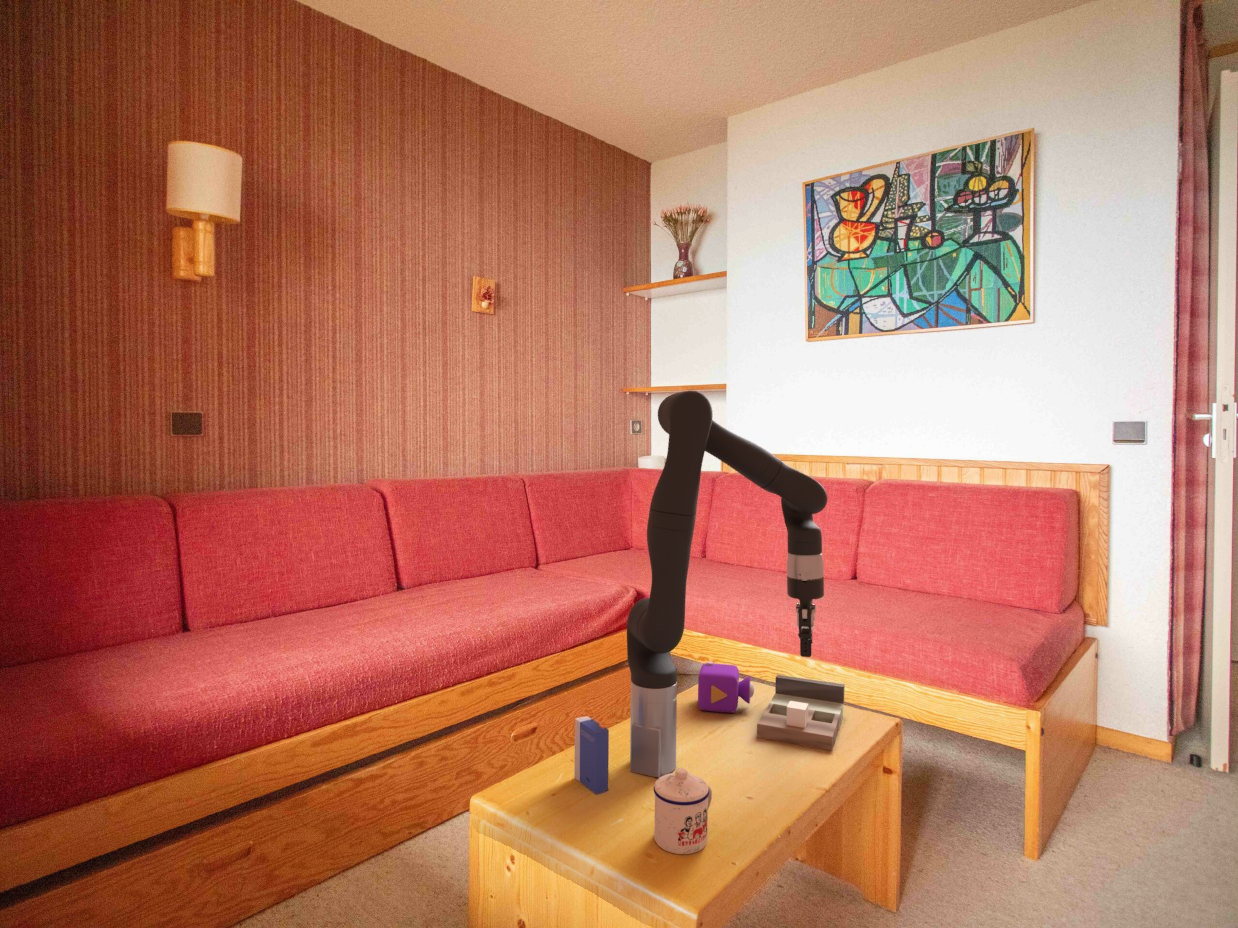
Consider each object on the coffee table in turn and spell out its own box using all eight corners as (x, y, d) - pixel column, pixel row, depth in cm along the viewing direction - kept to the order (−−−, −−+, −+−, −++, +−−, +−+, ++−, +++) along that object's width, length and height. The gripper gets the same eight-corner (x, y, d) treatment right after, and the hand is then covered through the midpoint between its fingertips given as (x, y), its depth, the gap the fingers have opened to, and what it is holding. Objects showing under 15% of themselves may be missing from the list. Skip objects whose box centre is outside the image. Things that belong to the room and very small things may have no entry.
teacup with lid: (683, 863, 109) (683, 790, 109) (641, 838, 116) (642, 769, 115) (731, 833, 118) (732, 765, 117) (689, 812, 124) (690, 747, 124)
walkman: (608, 790, 131) (608, 727, 131) (595, 794, 130) (596, 730, 129) (586, 773, 138) (586, 713, 137) (574, 777, 136) (574, 716, 136)
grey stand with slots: (832, 750, 149) (832, 717, 148) (756, 736, 155) (757, 705, 155) (843, 712, 169) (844, 684, 169) (776, 702, 175) (777, 674, 175)
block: (805, 728, 153) (805, 709, 153) (786, 724, 155) (786, 706, 154) (807, 721, 157) (808, 703, 156) (789, 718, 158) (790, 700, 158)
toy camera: (756, 715, 167) (757, 674, 166) (699, 715, 167) (699, 673, 167) (749, 698, 178) (750, 659, 177) (695, 697, 178) (695, 658, 178)
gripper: (788, 567, 157) (790, 639, 157) (784, 580, 143) (786, 659, 144) (824, 567, 154) (825, 641, 155) (823, 581, 141) (824, 661, 142)
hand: (806, 649), depth 149 cm, fingers open, 8 cm apart
